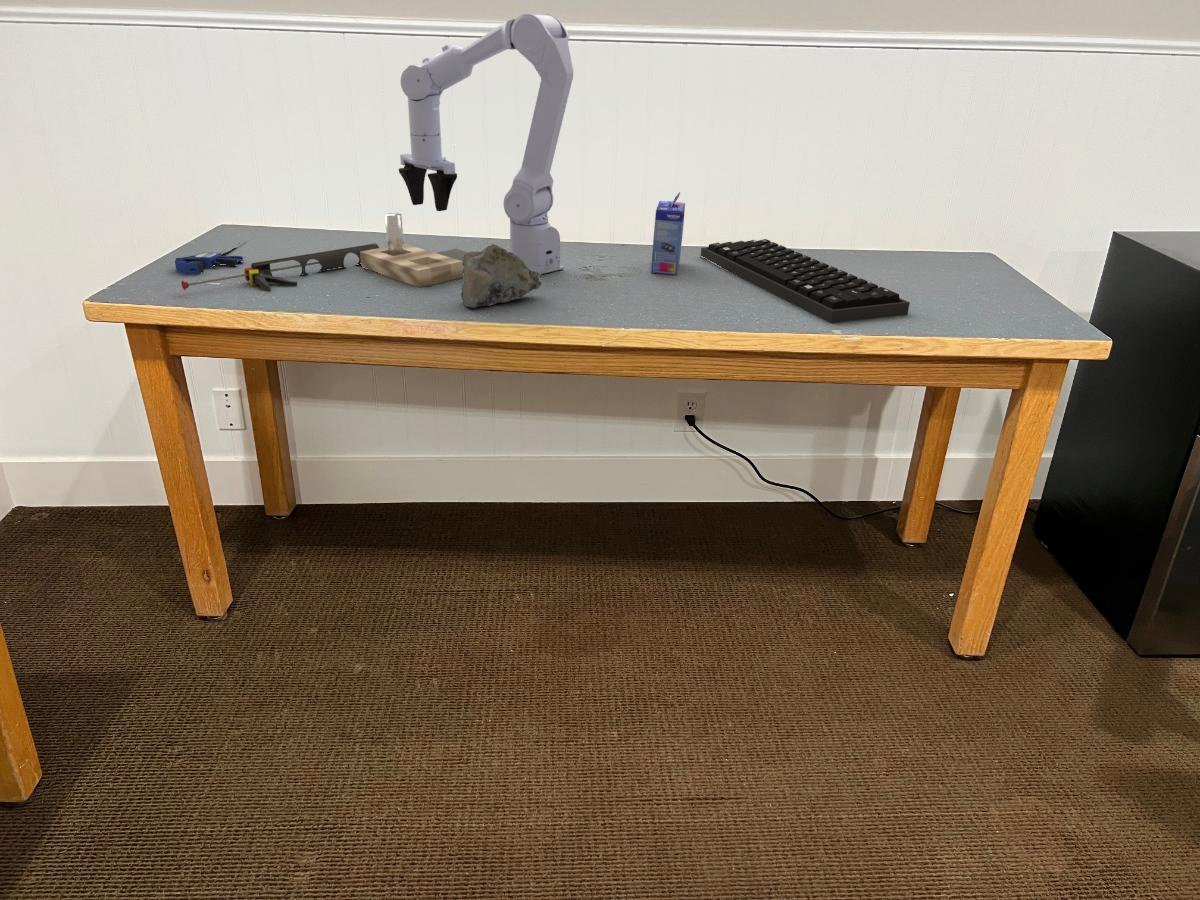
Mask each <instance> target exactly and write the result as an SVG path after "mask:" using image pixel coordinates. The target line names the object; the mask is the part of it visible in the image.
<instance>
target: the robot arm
mask: <svg viewBox="0 0 1200 900" xmlns="http://www.w3.org/2000/svg"><path fill="white" fill-rule="evenodd" d="M569 39H570V33H569V32H568V31H567V30H566V28H565V26H564V25H563V23H562V21H561V20H560V19H559V18H558V17H556V16H555V15H554V14H551V13H550V14H549V13H548V14H533V13H523V14H520V15H519V16H517V17H516V18H511V19H508V20H506V21H505V22H503V23H502V24H500V25H499V26H497V27H495V28H494V29H492V30H490V31H488V32H487V33H486V34H485V35H483V36H480V37H479V38H478V39H476V40H474V41H473V42H471V43H470V44H468V45H467V46H465V47H464V48H463V47H462V46H460V45H456V44H454V45H452V44H445V45H444V46H442V47H441V50H442V51H441V52H439V53H437V54H435V55H434V56H432V57H431V58H430V57H424V58H423V59H422V64H421V65H416V64H412V65H411V64H410V65H408V66H407V68H405V69H404V70H403V71H402V73H401V76H400V86H401V89H402V92H403V93H404V95H405V96H406V97H407V108H408V118H409V119H408V120H409V121H408V122H409V137H410V138H409V139H410V151H411V152H410V153H404V154H400V155H399V156H400V157H399V159H400V165H401V166H403V167H400V168H398V172H399V174H400V176H401V177H402V179H403V182H404V184H405V186H406V188H407V190H408V193H409V197H410V200H411V203H412V206H419V205H423V204H424V199H425V195H424V194H425V179H426V174H427V177H428V178H427V179H428V180H429V182H430V184H431V188H432V193H433V199H434V205H435V210H436V212H442V211H444V212H445V211H447V210H448V205H449V201H450V195H451V193H452V189H453V186H454V184H455V182H456V181H457V179H458V173H456V163H455V162H453V161H449V160H448V159H446V158H447V157H446V156H445V157H444V156H442V154H443V153H442V136H441V134H442V133H441V117H440V105H441V101H440V99H441V96H442V94H443V92H444V91H445V90H447V89H448V88H451V87H453V86H454V85H457V84H458V83H460V82H461V81H464V80H465V79H468V78H469V77H470V76H471V75H472V73H473V68H474V66H476V65H478V64H479V63H481V62H483V61H486V60H488V59H490V58H492V57H494V56H496V55H498V54H501V53H502V52H504V51H506V50H516V51H518V53H519V54H521V56H523V57H524V58H525V59H526V60H528V62H529V63H531V65H532V66H533V67H534V69H535V70H536V72H537V75H539V78H540V83H539V88H538V92H537V96H536V102H535V106H534V109H533V110H534V111H533V114H532V119H531V123H530V128H529V132H528V137H527V141H526V146H525V150H524V156H523V159H522V162H521V167H520V169H519V171H518V172H517V174H515V176H514V178H513V180H512V185H511V186H510V188H509V190H508V191H507V192H506V194H505V195H504V198H503V209H504V212H505V215H506V216H507V218H509V228H510V229H509V238H510V240H509V241H510V242H509V243H510V244H509V245H510V253H513V254H515V255H516V256H517V257H519V258H520V259H521V260H523V261H524V263H525V265H526V266H527V267H528V268H529V269H530V270H534V271H536V272H538V273H540V274H541V275H543V274H547V273H551V272H555V271H559V270H563V268H564V266H563V265H561V235H560V233H559V231H558V229H557V228H555V227H554V226H551V224H550V223H549V216H548V213H549V211H550V210H551V209H552V207H553V205H554V194H553V184H554V178H553V177H552V174H551V169H552V166H553V162H554V156H555V155H556V154H555V153H556V149H557V145H558V142H559V141H558V140H559V138H560V137H559V136H560V132H561V128H562V125H563V121H564V117H565V112H566V107H567V103H568V101H569V100H568V99H569V97H570V96H569V95H570V92H571V88H572V83H573V80H574V67H573V63H572V57H571V53H570V48H569V46H570V45H569ZM428 170H429V171H434V172H433V173H427V171H428Z"/></svg>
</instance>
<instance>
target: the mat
mask: <svg viewBox="0 0 1200 900" xmlns="http://www.w3.org/2000/svg"><path fill="white" fill-rule="evenodd" d="M467 252H468V251H465V250H462V249H458V248H453V249H448V250H443V251H438V252H436V253H437V254H440V255H443V256H447V257H450V258H453V259H457V260H460V261H462V262H463V257H464V255H465V253H467ZM463 266H464V264H463Z"/></svg>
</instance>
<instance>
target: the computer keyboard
mask: <svg viewBox="0 0 1200 900" xmlns="http://www.w3.org/2000/svg"><path fill="white" fill-rule="evenodd" d="M701 256H703V257H705V258H707V259H708V260H710V261H712V262H714V263H716V264H717V265H719V266H721V267H722V268H724V269H726V270H728V271H729V272H728V271H727V272H728V273H730V272H731V274H732V273H733V274H732V275H734V274H735V275H734V276H736V275H737V276H736V277H738V278H740V279H742V280H744V281H747V282H749V283H750V284H752V285H754V286H756V287H758V288H760V289H762V290H764V291H766V292H768V293H769V294H772V295H774V296H775V297H778V298H780V299H782V300H783V301H786V302H788V303H789V304H791V305H794V306H796V307H798V308H800V309H802V310H803V311H806V312H807V313H810V314H812V315H814V316H816V317H817V318H820V319H821V320H823V321H825V322H828V323H829V324H836V323H844V322H846V323H847V322H853V321H861V320H862V321H863V320H869V319H870V320H871V319H881V318H888V317H889V318H890V317H897V316H905V315H906V316H907V315H908V314H909V309H910V304H911V302H910V301H908V300H905V299H902V298H900V293H897V292H895V291H892V290H890V289H888V288H885V287H882V286H880V287H879V285H878V284H876V283H873V282H869V281H868V280H866V279H863V278H861V277H860V278H858V276H857V275H853V274H851V273H850V274H848V272H847V271H845V270H843V269H841V270H839V268H837V267H834V266H832V265H831V266H829V264H827V263H825V262H821V261H820V260H818V259H814V258H812V257H810V256H808V255H806V254H805V255H803V254H802V253H800V252H798V251H795V250H793V249H792V248H787V246H784V245H781V244H780V245H779V244H778V243H776V242H774V241H771V240H770V239H767V238H763V239H760V240H755V239H752V240H751V239H750V240H746V241H744V240H740V241H739V240H738V241H735V242H733V241H726V242H722V243H720V242H714V243H709V244H708V246H707V247H701V248H700V257H701ZM722 268H721V269H722ZM724 269H723V270H724ZM726 270H725V271H726Z"/></svg>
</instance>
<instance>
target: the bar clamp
mask: <svg viewBox="0 0 1200 900" xmlns="http://www.w3.org/2000/svg"><path fill="white" fill-rule="evenodd" d="M222 252H223V251H221V252H219V253H218V252H201V253H197V254H195V255H190V256H184V257H176V258H175V261H174V265H175V271H176V270H177V271H176V272H178V271H179V272H178V273H180V272H182V274H183V273H185V274H184V275H187V274H198V275H200V273H201V272H202V273H204V272H203V271H204V268H203V267H212V266H213V265H215V267H221V266H222V265H220V264H226V265H233V266H235V265H237V264H238V263H237V261H238V262H241V261H243V262H244V258H243V256H242V255H226V254H225V253H226V252H225V253H223V254H225V255H223V254H221V253H222ZM222 255H223V256H222ZM233 266H232V267H233ZM202 273H201V274H202Z"/></svg>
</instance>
